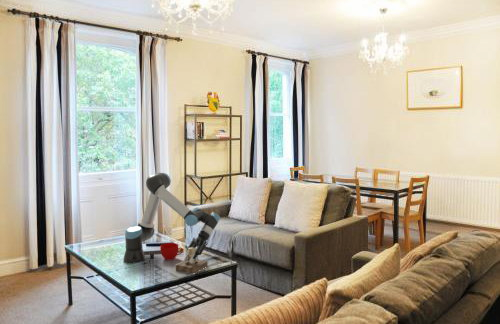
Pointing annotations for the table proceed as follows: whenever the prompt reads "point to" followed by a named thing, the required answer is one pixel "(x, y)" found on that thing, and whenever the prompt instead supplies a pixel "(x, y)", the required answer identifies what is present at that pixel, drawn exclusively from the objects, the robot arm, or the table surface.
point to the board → (191, 266)
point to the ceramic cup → (169, 250)
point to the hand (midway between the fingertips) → (187, 261)
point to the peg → (190, 254)
